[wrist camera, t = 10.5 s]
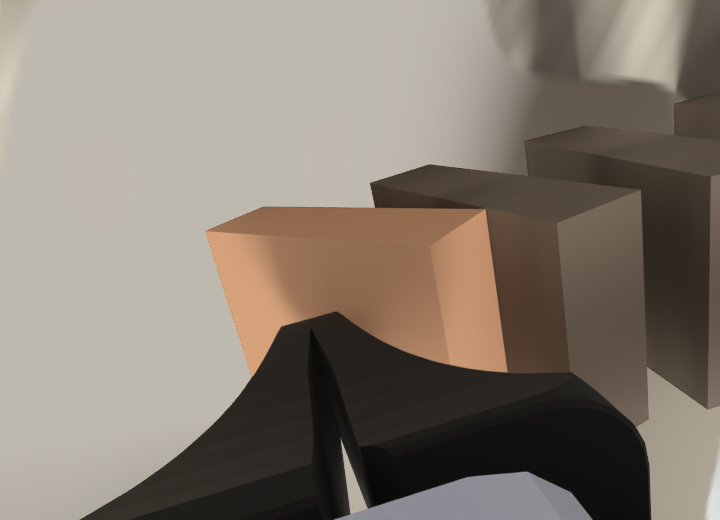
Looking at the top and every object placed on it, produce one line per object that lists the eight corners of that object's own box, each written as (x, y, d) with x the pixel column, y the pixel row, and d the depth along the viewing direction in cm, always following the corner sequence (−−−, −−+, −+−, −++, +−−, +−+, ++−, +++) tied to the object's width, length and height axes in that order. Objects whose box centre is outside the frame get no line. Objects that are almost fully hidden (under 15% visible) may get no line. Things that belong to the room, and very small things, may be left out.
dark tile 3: (595, 275, 18) (791, 382, 11) (540, 291, 18) (708, 409, 11) (585, 126, 16) (808, 150, 10) (524, 140, 16) (711, 176, 10)
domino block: (454, 315, 17) (648, 419, 11) (402, 338, 17) (578, 462, 11) (429, 164, 16) (641, 190, 10) (369, 182, 15) (556, 222, 9)
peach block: (305, 358, 17) (513, 418, 12) (257, 393, 16) (469, 476, 11) (263, 206, 15) (485, 209, 11) (204, 231, 14) (429, 246, 9)
